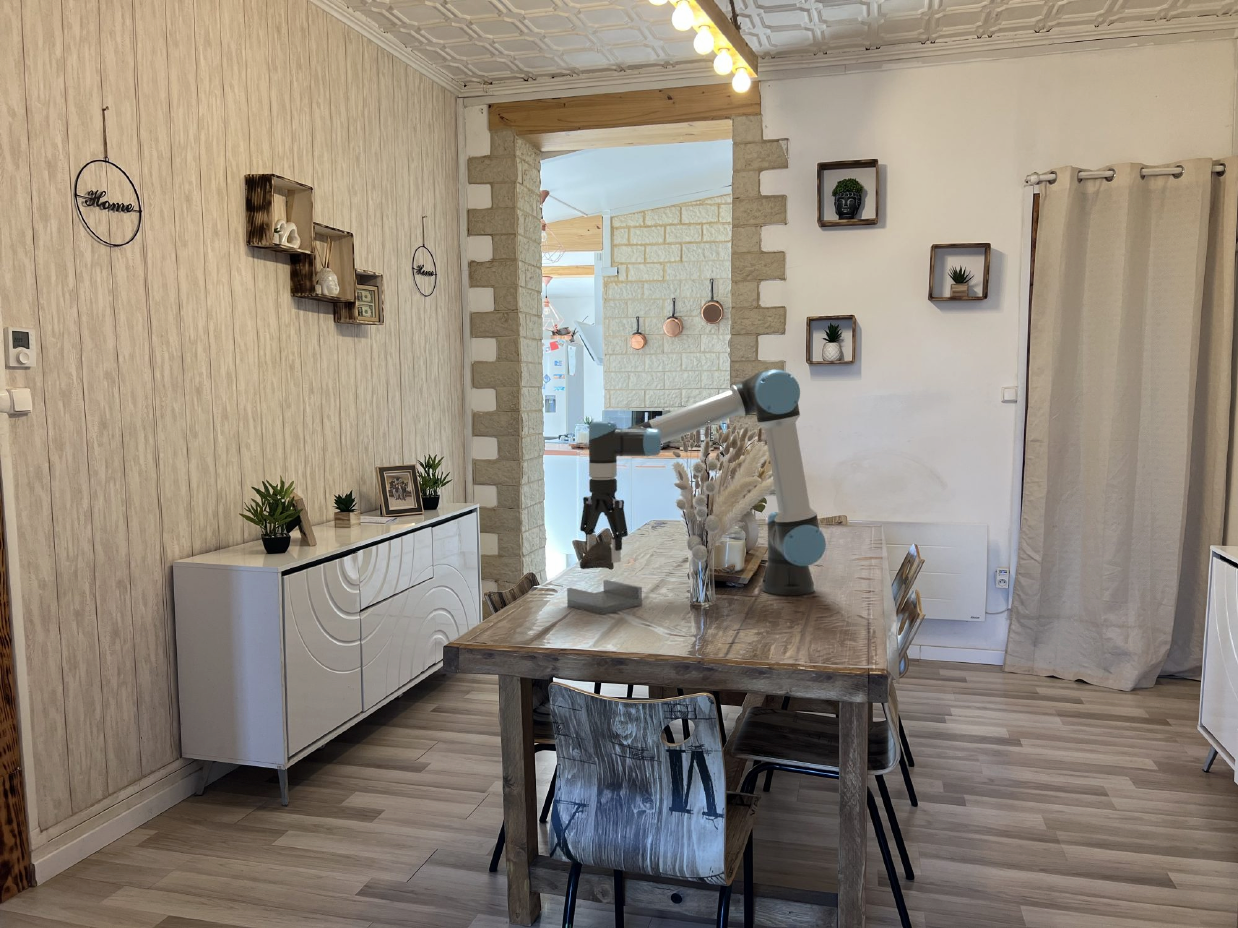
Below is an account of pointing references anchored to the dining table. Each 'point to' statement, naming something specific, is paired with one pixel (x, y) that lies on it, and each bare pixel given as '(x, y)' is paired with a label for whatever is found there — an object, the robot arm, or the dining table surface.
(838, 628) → the dining table surface
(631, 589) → the lip bracket
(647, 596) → the dining table surface
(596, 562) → the stone
